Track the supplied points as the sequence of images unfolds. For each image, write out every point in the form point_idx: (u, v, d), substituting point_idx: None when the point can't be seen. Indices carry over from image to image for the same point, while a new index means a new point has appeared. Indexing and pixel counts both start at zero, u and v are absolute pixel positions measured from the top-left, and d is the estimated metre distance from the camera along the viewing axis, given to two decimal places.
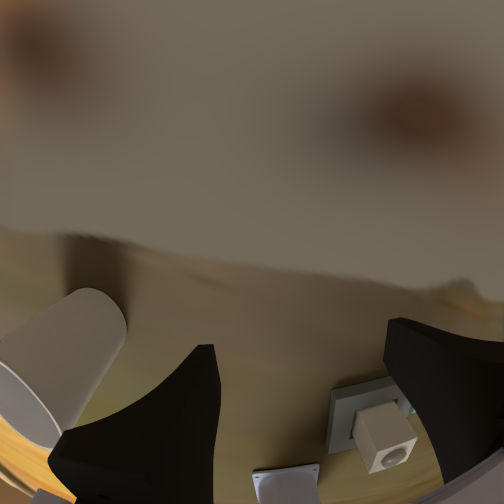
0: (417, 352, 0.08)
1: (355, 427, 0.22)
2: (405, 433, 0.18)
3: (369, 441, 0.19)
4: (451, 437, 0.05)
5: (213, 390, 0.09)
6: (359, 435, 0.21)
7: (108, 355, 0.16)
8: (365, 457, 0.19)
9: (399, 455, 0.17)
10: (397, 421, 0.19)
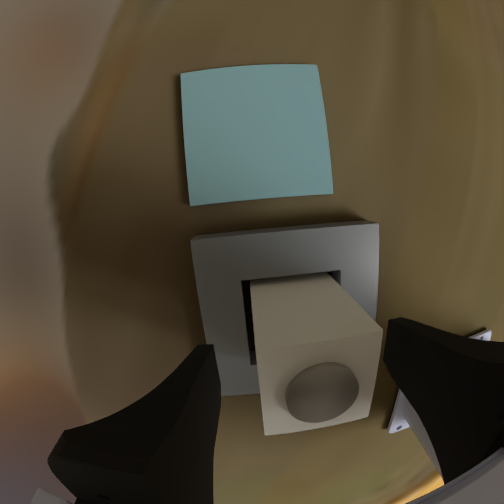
0: (417, 352, 0.08)
1: None
2: None
3: None
4: (451, 437, 0.05)
5: (213, 390, 0.09)
6: None
7: None
8: None
9: (308, 393, 0.08)
10: None
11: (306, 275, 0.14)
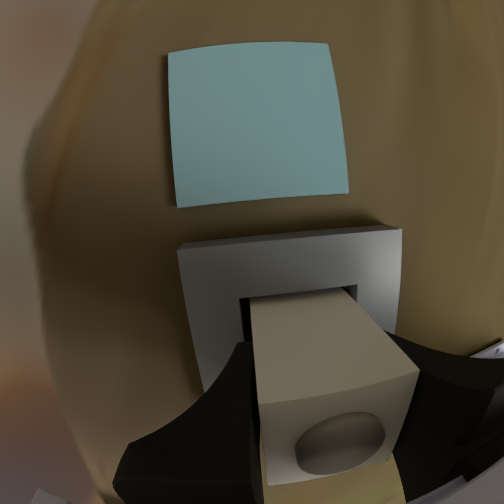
0: None
1: None
2: None
3: None
4: (411, 455, 0.05)
5: None
6: None
7: None
8: None
9: (324, 448, 0.05)
10: None
11: (316, 290, 0.12)
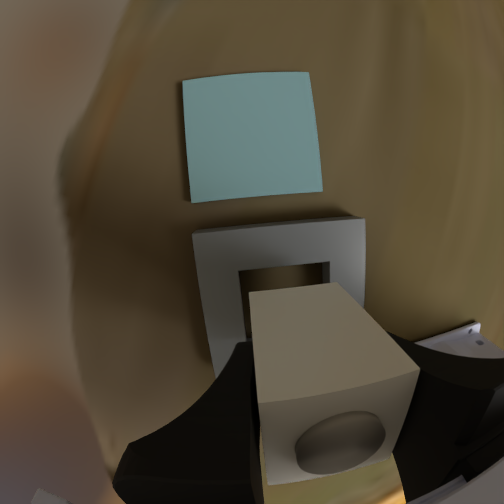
0: None
1: None
2: None
3: None
4: (411, 456, 0.05)
5: None
6: None
7: None
8: None
9: (324, 448, 0.05)
10: None
11: (317, 289, 0.12)
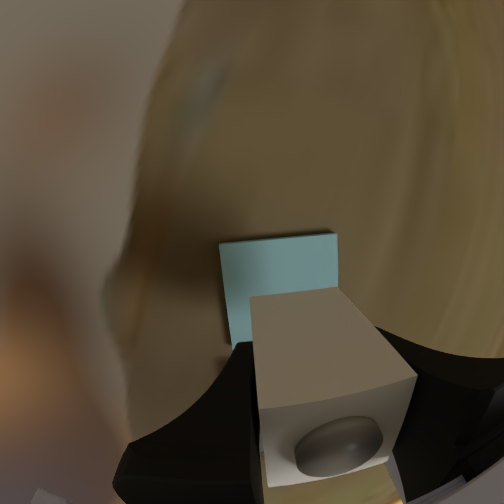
0: None
1: None
2: None
3: None
4: (411, 456, 0.05)
5: None
6: None
7: None
8: None
9: (323, 451, 0.05)
10: None
11: (316, 294, 0.12)
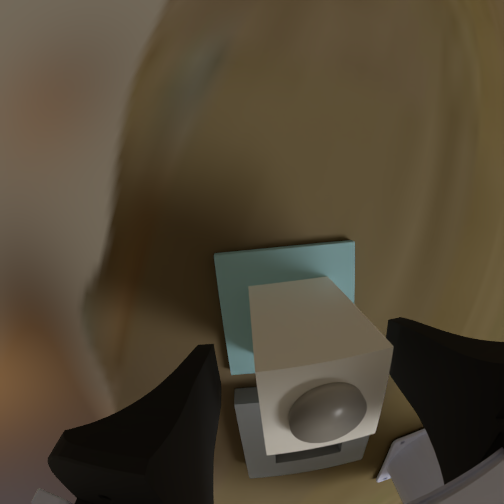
0: (417, 352, 0.08)
1: None
2: None
3: None
4: (451, 437, 0.05)
5: (213, 390, 0.09)
6: None
7: None
8: None
9: (313, 415, 0.07)
10: None
11: (308, 283, 0.13)
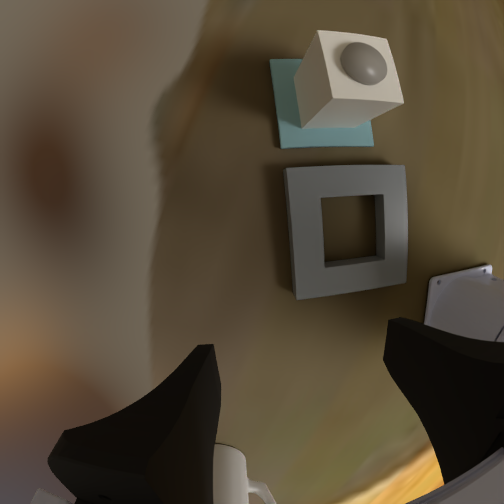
0: (417, 352, 0.08)
1: (340, 122, 0.16)
2: (316, 51, 0.11)
3: (334, 109, 0.13)
4: (451, 437, 0.05)
5: (213, 390, 0.09)
6: (346, 118, 0.15)
7: (216, 473, 0.20)
8: (377, 109, 0.13)
9: (354, 54, 0.10)
10: (308, 65, 0.13)
11: None
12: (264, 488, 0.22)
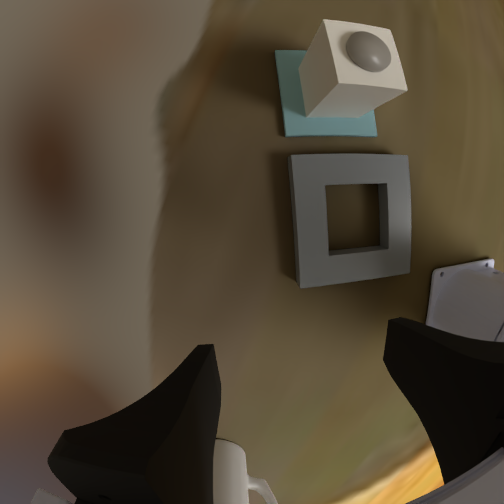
0: (417, 352, 0.08)
1: (344, 111, 0.16)
2: (321, 39, 0.11)
3: (339, 95, 0.13)
4: (451, 437, 0.05)
5: (213, 390, 0.09)
6: (350, 106, 0.15)
7: (216, 469, 0.20)
8: (381, 97, 0.12)
9: (359, 42, 0.10)
10: (314, 53, 0.13)
11: None
12: (264, 485, 0.21)
